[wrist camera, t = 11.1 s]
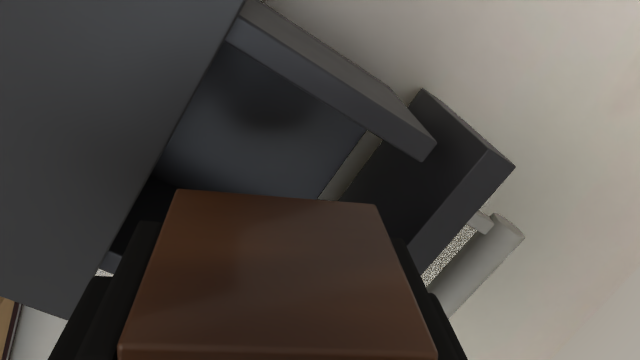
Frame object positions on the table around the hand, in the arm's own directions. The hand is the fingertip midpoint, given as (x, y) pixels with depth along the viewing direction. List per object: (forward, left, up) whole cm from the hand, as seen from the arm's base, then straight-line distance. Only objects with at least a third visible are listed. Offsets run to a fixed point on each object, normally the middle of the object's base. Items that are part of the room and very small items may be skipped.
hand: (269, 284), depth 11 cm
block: (0, 0, 0) cm, 0 cm away
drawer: (-1, +1, -10) cm, 10 cm away
